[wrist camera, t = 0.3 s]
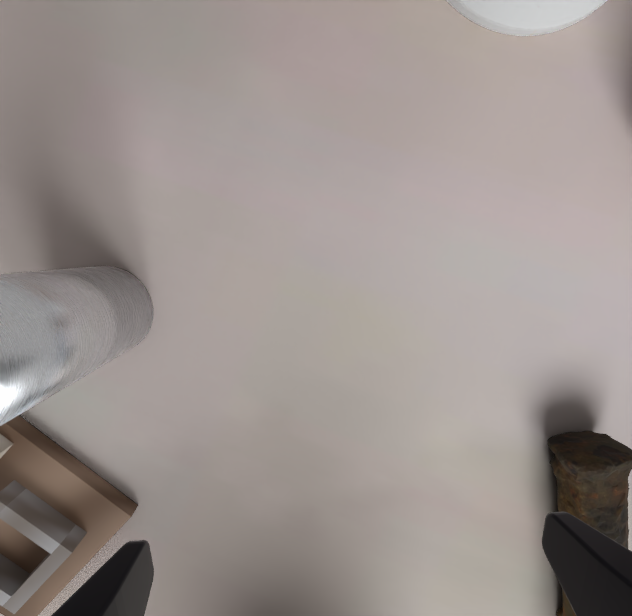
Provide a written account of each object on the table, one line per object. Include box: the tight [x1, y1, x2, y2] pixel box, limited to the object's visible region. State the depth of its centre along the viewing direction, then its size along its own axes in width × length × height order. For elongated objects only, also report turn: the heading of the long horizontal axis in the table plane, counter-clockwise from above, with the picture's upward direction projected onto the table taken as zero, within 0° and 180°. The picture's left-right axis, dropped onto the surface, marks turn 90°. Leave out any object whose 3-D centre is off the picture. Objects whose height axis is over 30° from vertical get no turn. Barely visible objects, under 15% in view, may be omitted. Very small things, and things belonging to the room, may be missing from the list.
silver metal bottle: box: [0, 266, 153, 426], centre depth 15 cm, size 5×5×13 cm
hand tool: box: [548, 431, 632, 616], centre depth 23 cm, size 19×4×5 cm, turn 5°
